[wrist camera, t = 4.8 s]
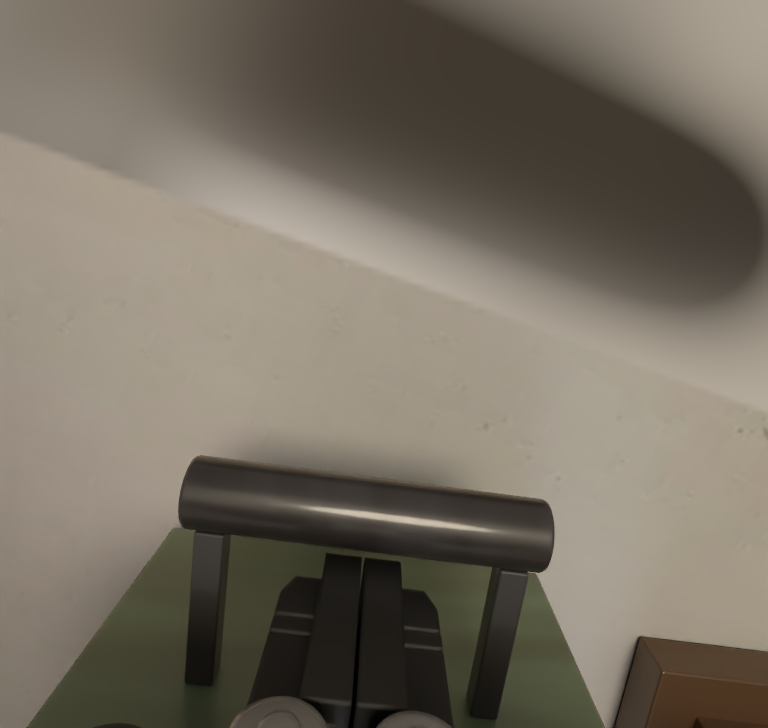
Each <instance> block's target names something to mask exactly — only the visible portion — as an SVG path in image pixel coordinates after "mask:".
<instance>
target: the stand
mask: <svg viewBox="0 0 768 728" xmlns="http://www.w3.org/2000/svg"><path fill="white" fill-rule="evenodd" d="M615 728H768V652H760V651H752V650H744V649H736V648H728V647H720V646H712V645H703V644H695V643H687V642H679V641H671V640H663V639H655V638H646V637H641V638H640V639H639V643H638V647H637V650H636V654H635V657H634V661H633V664H632V668H631V671H630V675H629V679H628V682H627V686H626V689H625V693H624V696H623V700H622V703H621V707H620V711H619V714H618V718H617V721H616V725H615Z"/></svg>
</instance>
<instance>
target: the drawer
mask: <svg viewBox="0 0 768 728" xmlns="http://www.w3.org/2000/svg"><path fill="white" fill-rule="evenodd" d="M178 513H179V522H180V524H181V526H182V527H184V528H186V529H193V530H186V529H178V528H174V529H172V531H171V532H170V533H169V535H168V536H167V537H166V539H165V540H164V541H163V543H162V544H161V546H160V547H159V548H158V550H157V551H156V552H155V554H154V555H153V556H152V558H151V559H150V561H149V562H148V563H147V565H146V566H145V567H144V569H143V570H142V571H141V573H140V574H139V576H138V577H137V578H136V580H135V581H134V582H133V584H132V585H131V586H130V588H129V589H128V591H127V592H126V593H125V595H124V596H123V597H122V599H121V600H120V601H119V603H118V604H117V606H116V607H115V608H114V610H113V611H112V612H111V614H110V615H109V616H108V618H107V619H106V621H105V622H104V623H103V625H102V626H101V627H100V629H99V630H98V631H97V633H96V634H95V636H94V637H93V638H92V640H91V641H90V642H89V644H88V645H87V646H86V648H85V649H84V651H83V652H82V653H81V655H80V656H79V657H78V659H77V660H76V661H75V663H74V664H73V666H72V667H71V668H70V670H69V671H68V672H67V674H66V675H65V676H64V678H63V679H62V681H61V682H60V683H59V685H58V686H57V687H56V689H55V690H54V691H53V693H52V694H51V696H50V697H49V698H48V700H47V701H46V702H45V704H44V705H43V706H42V708H41V709H40V711H39V712H38V713H37V715H36V716H35V717H34V719H33V720H32V721H31V723H30V724H29V726H28V727H27V728H93V727H96V726H100V725H104V724H111V723H127V724H133V725H136V726H139V727H141V728H229V727H230V725H231V723H232V721H233V720H234V718H235V717H236V716H237V715H238V714H239V713H240V712H241V711H242V710H243V709H244V708H246V706H247V703H248V701H249V698H250V694H251V691H252V687H253V684H254V680H255V677H256V674H257V670H258V667H259V663H260V660H261V657H262V653H263V650H264V646H265V643H266V639H267V636H268V633H269V630H270V626H271V622H272V619H273V615H274V613H275V609H276V605H277V602H278V598H279V595H280V591H281V590H282V589H283V588H284V587H285V586H286V585H287V584H288V583H289V582H290V581H291V580H292V579H293V578H294V577H295V576H304V577H312V578H321V579H322V574H323V569H324V563H325V558H326V553H327V552H328V553H336V554H344V555H352V556H361V557H362V565H361V579H362V572H363V565H364V559H365V557H370V558H378V559H387V560H395V561H400V562H401V574H402V588H405V589H414V590H422V591H425V592H426V594H427V595H428V597H429V598H430V599H431V601H432V602H433V604H434V605H435V607H436V608H437V610H438V617H439V624H440V635H441V638H442V646H443V653H444V660H445V667H446V674H447V682H448V689H449V696H450V703H451V710H452V718H453V724H454V728H605V727H604V725H603V723H602V720H601V718H600V716H599V714H598V711H597V709H596V707H595V705H594V702H593V700H592V698H591V696H590V693H589V691H588V689H587V687H586V684H585V682H584V680H583V678H582V675H581V673H580V671H579V669H578V666H577V664H576V662H575V660H574V657H573V655H572V653H571V651H570V648H569V646H568V644H567V642H566V640H565V637H564V635H563V633H562V631H561V628H560V626H559V624H558V622H557V619H556V617H555V615H554V613H553V610H552V608H551V606H550V604H549V601H548V599H547V597H546V595H545V592H544V590H543V588H542V586H541V583H540V581H539V579H538V577H537V575H536V574H535V573H529V572H537V573H540V572H543V571H545V570H546V569H547V567H548V565H549V563H550V560H551V557H552V553H553V547H554V520H553V515H552V511H551V508H550V506H549V504H548V503H547V502H546V501H544V500H542V499H536V498H528V497H521V496H513V495H505V494H497V493H489V492H482V491H474V490H466V489H458V488H451V487H443V486H435V485H427V484H420V483H412V482H404V481H396V480H389V479H381V478H373V477H365V476H357V475H350V474H342V473H334V472H326V471H319V470H311V469H303V468H295V467H288V466H280V465H272V464H264V463H257V462H249V461H241V460H233V459H225V458H218V457H210V456H202V455H200V456H197V457H195V458H194V459H193V460H192V462H191V463H190V465H189V467H188V469H187V471H186V474H185V477H184V480H183V483H182V487H181V491H180V497H179V507H178ZM194 530H196V531H194ZM231 534H233V535H231ZM234 535H241V536H234ZM242 536H249V537H242ZM250 537H257V538H250ZM258 538H265V539H258ZM266 539H273V540H266ZM274 540H281V541H274ZM282 541H289V542H282ZM290 542H297V543H290ZM298 543H305V544H298ZM306 544H313V545H306ZM314 545H321V546H314ZM322 546H329V547H322ZM330 547H337V548H330ZM338 548H345V549H338ZM346 549H353V550H346ZM354 550H361V551H354ZM362 551H369V552H362ZM370 552H377V553H370ZM378 553H385V554H378ZM386 554H393V555H386ZM394 555H401V556H394ZM402 556H409V557H402ZM410 557H417V558H410ZM418 558H425V559H418ZM426 559H433V560H426ZM434 560H441V561H434ZM442 561H449V562H457V563H465V564H473V565H481V566H489V567H492V568H489V567H481V566H473V565H465V564H457V563H449V562H442ZM528 571H529V572H528ZM361 579H360V586H361Z"/></svg>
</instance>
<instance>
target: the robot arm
mask: <svg viewBox="0 0 768 728" xmlns="http://www.w3.org/2000/svg"><path fill="white" fill-rule="evenodd" d="M361 565H362V557H361V556H352V555H344V554H336V553H328V552H327V553H326V558H325V563H324V569H323V574H322V579H321V578H312V577H304V576H295V577H294V578H293V579H292V580H291V581H290V582H289V583H288V584H287V585H286V586H285V587H284V588H283V589H282V590H281V591H280V595H279V598H278V602H277V605H276V609H275V613H274V615H273V619H272V622H271V626H270V630H269V633H268V636H267V639H266V643H265V646H264V650H263V653H262V657H261V660H260V663H259V667H258V670H257V674H256V677H255V680H254V684H253V687H252V691H251V694H250V698H249V701H248V703H247V706H246V708H244V709H243V710H242V711H241V712H240V713H239V714H238V715H237V716H236V717H235V718H234V720H233V721H232V723H231V725H230V727H229V728H454V724H453V718H452V710H451V703H450V696H449V689H448V682H447V674H446V667H445V660H444V653H443V646H442V638H441V635H440V624H439V617H438V610H437V608H436V607H435V605H434V604H433V602H432V601H431V599H430V598H429V597H428V595H427V594H426V592H425V591H422V590H414V589H405V588H402V574H401V562H400V561H395V560H387V559H378V558H370V557H365V559H364V565H363V572H362V579H361ZM360 579H361V586H360ZM93 728H141V727H139V726H136V725H133V724H127V723H111V724H104V725H100V726H96V727H93Z"/></svg>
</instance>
